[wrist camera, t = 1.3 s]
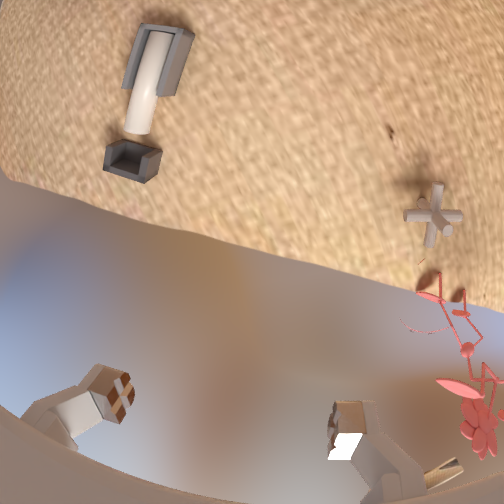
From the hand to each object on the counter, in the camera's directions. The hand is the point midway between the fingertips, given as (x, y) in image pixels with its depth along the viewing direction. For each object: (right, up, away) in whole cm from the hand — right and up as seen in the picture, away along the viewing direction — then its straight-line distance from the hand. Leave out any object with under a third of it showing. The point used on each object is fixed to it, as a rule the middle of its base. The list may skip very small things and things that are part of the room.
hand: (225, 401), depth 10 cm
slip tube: (-13, +30, +26) cm, 42 cm away
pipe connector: (+28, +14, +32) cm, 45 cm away
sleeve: (-12, +34, +25) cm, 43 cm away
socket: (-17, +21, +33) cm, 43 cm away
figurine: (+38, -5, +42) cm, 57 cm away
